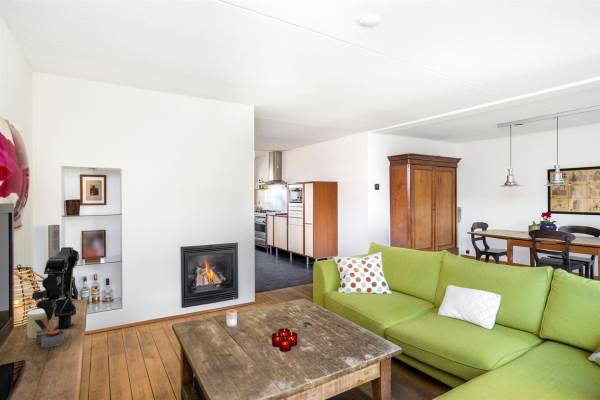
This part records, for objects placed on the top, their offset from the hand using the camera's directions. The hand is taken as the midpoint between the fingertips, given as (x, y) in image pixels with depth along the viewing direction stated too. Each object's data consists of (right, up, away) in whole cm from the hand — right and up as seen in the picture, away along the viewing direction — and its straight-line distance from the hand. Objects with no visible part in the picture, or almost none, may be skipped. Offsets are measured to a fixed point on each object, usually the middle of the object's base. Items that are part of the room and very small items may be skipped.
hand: (53, 317), depth 154 cm
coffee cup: (-15, -12, +8) cm, 21 cm away
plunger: (-1, -12, 0) cm, 11 cm away
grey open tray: (-2, -12, 0) cm, 13 cm away
